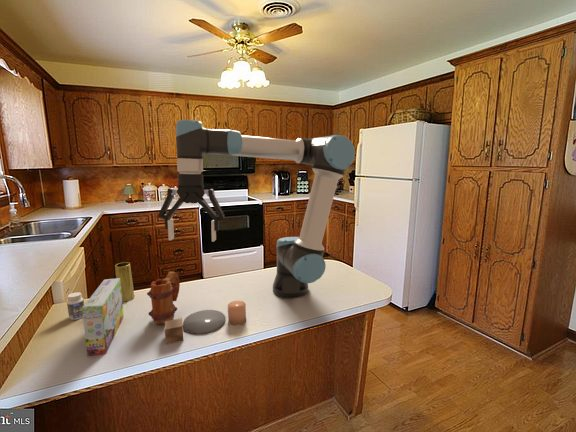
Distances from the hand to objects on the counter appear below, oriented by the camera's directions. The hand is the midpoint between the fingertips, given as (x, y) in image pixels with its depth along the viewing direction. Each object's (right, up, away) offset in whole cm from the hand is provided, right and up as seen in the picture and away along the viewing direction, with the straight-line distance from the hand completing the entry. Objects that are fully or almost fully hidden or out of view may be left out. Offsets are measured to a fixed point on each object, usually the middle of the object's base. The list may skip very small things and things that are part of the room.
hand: (192, 240), depth 96 cm
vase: (-34, -25, +24) cm, 49 cm away
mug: (-12, -28, +11) cm, 33 cm away
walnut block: (-5, -31, -2) cm, 31 cm away
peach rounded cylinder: (+13, -29, +8) cm, 32 cm away
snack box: (-27, -30, 0) cm, 41 cm away
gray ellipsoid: (+2, -29, +7) cm, 30 cm away
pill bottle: (-44, -28, +10) cm, 53 cm away
